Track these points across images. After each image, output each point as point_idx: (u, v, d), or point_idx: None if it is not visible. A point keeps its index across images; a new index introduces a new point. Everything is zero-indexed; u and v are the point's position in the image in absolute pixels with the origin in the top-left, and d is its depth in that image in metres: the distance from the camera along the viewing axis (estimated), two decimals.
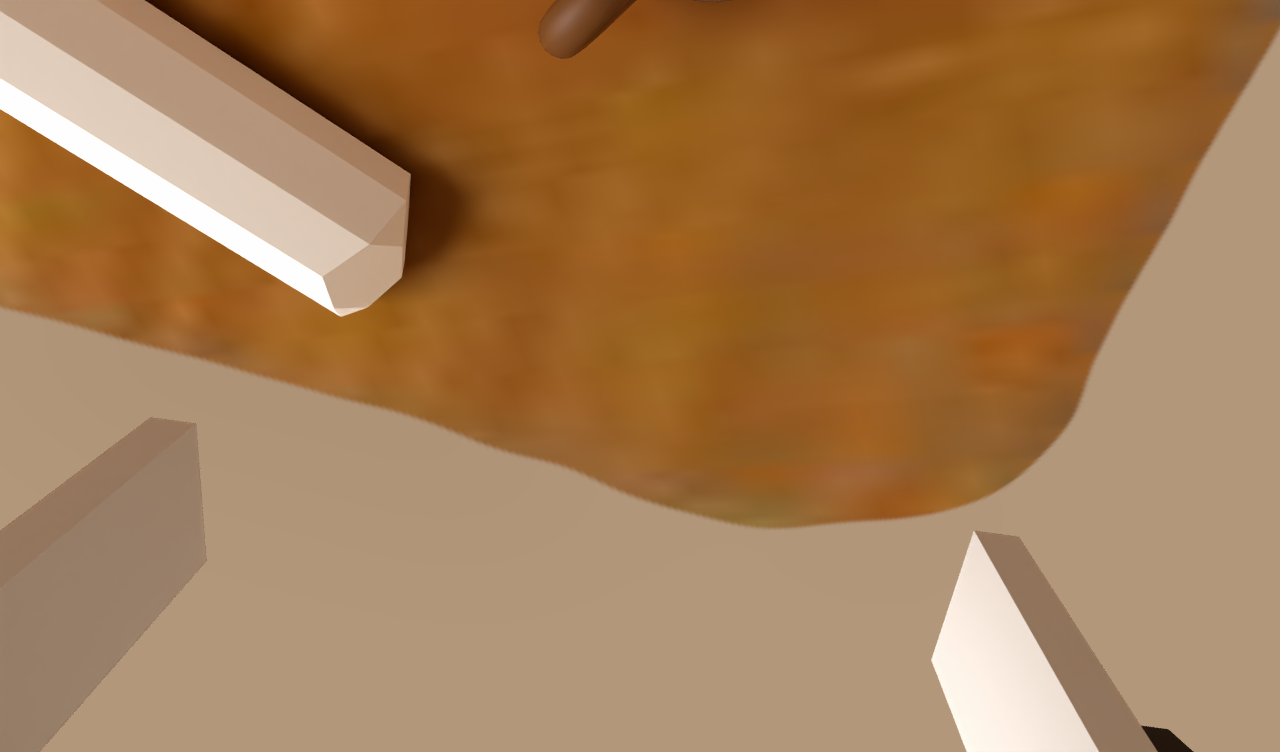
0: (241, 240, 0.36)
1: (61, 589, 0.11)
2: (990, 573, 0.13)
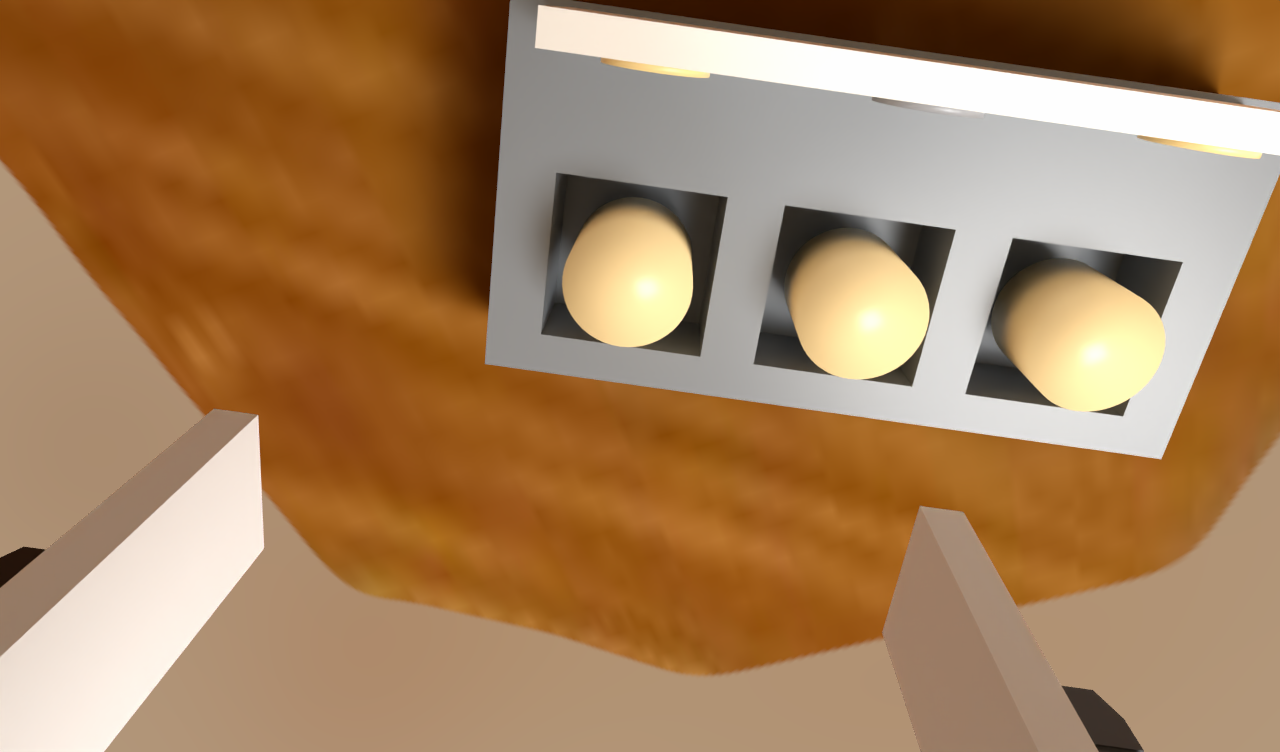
0: None
1: (145, 571, 0.12)
2: (931, 546, 0.14)
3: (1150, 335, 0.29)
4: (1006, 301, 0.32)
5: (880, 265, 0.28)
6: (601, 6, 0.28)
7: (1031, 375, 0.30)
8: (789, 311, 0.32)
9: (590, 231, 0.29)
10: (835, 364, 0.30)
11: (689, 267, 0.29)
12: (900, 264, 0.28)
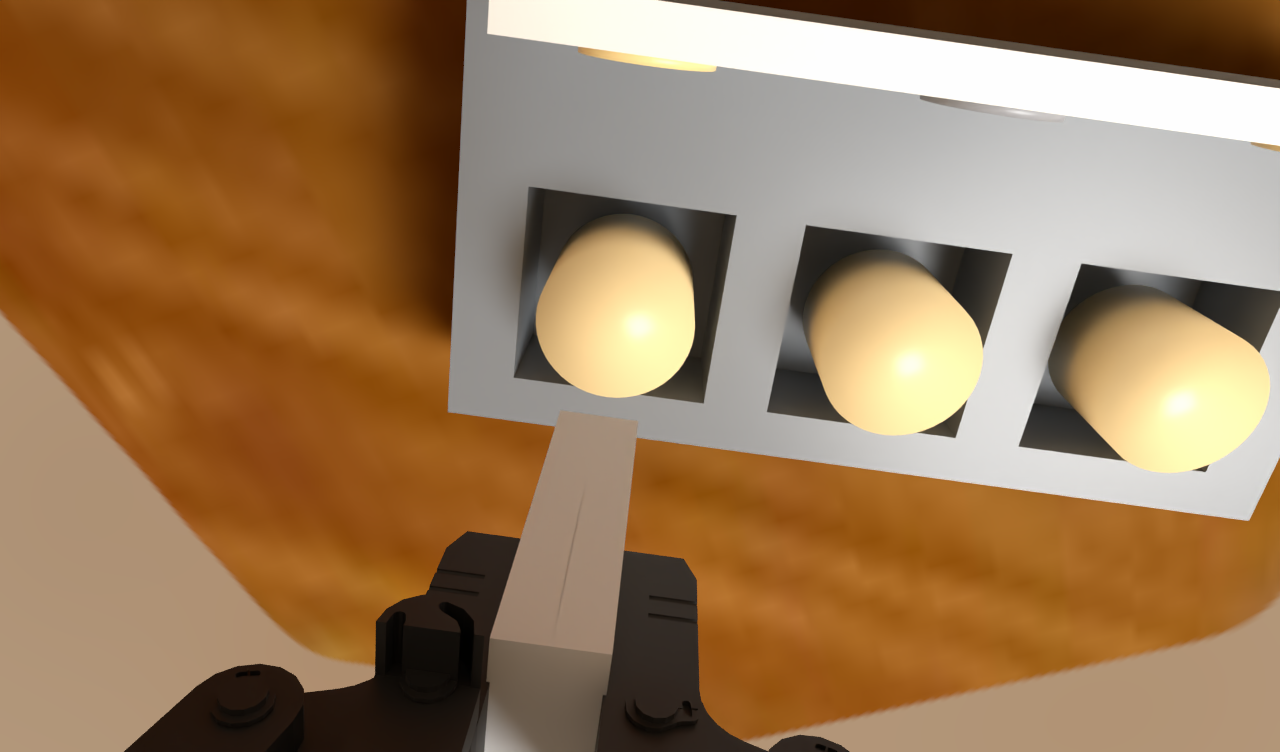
0: None
1: None
2: (593, 447, 0.16)
3: (1251, 384, 0.24)
4: (1068, 337, 0.27)
5: (924, 300, 0.23)
6: None
7: (1104, 430, 0.25)
8: None
9: (569, 260, 0.23)
10: (867, 418, 0.25)
11: (690, 303, 0.24)
12: (949, 299, 0.23)
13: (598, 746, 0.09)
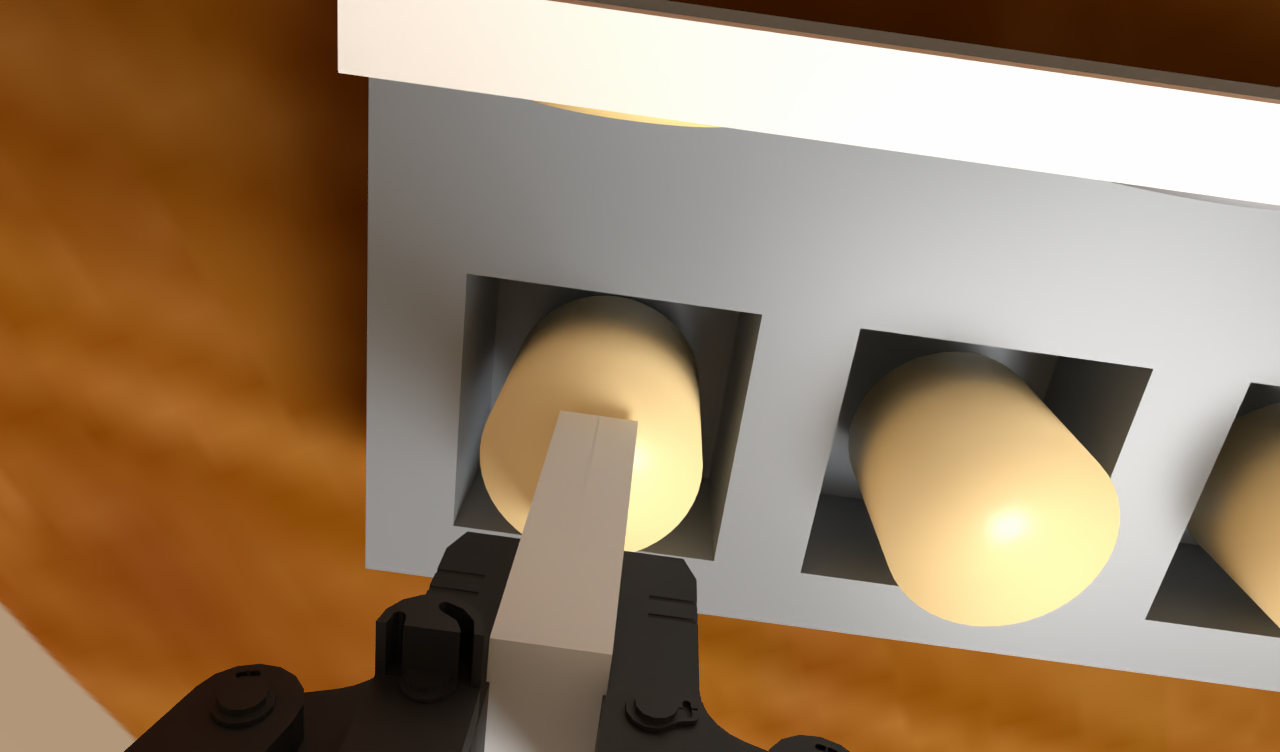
0: None
1: None
2: (593, 447, 0.16)
3: None
4: (1217, 472, 0.19)
5: (1039, 447, 0.16)
6: None
7: None
8: (859, 486, 0.20)
9: (525, 376, 0.16)
10: (948, 603, 0.17)
11: (696, 435, 0.17)
12: (1075, 446, 0.16)
13: (598, 746, 0.09)
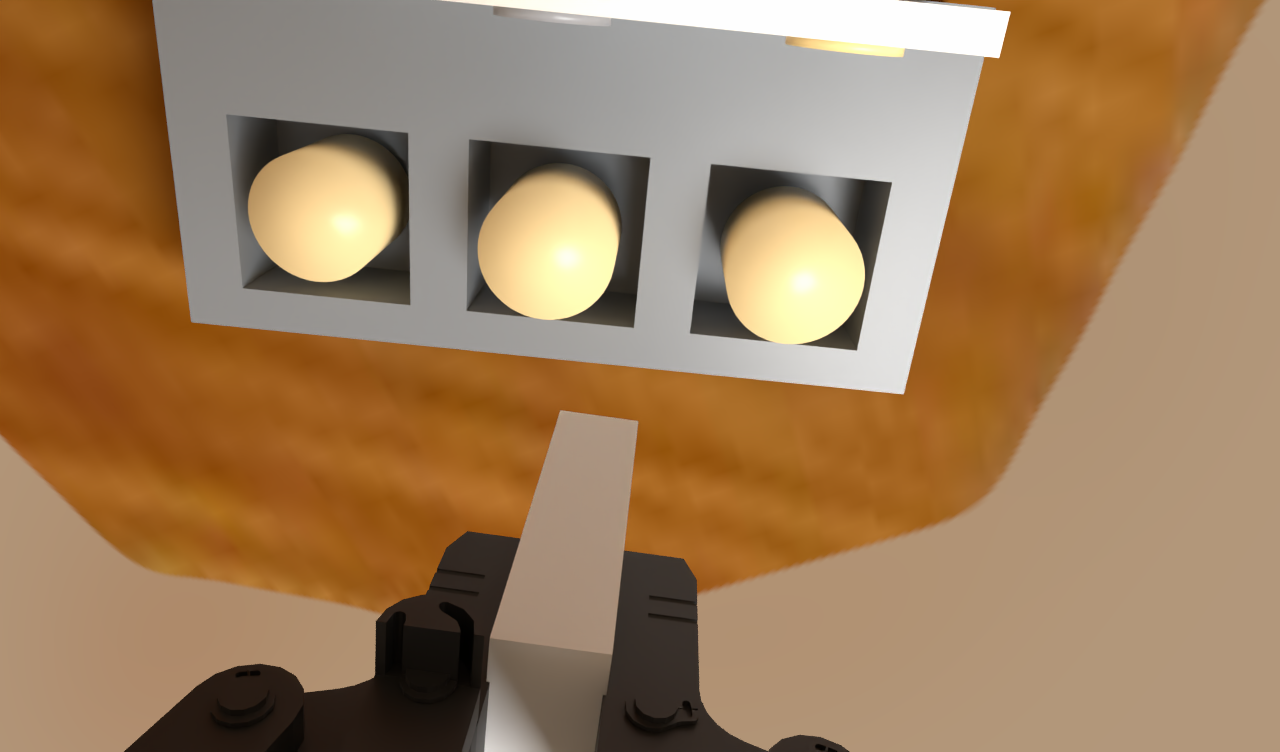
0: None
1: None
2: (592, 447, 0.16)
3: (847, 260, 0.27)
4: (725, 234, 0.30)
5: (554, 196, 0.27)
6: None
7: (732, 308, 0.28)
8: None
9: (267, 164, 0.28)
10: (527, 304, 0.28)
11: (371, 197, 0.29)
12: (574, 194, 0.27)
13: (598, 746, 0.09)
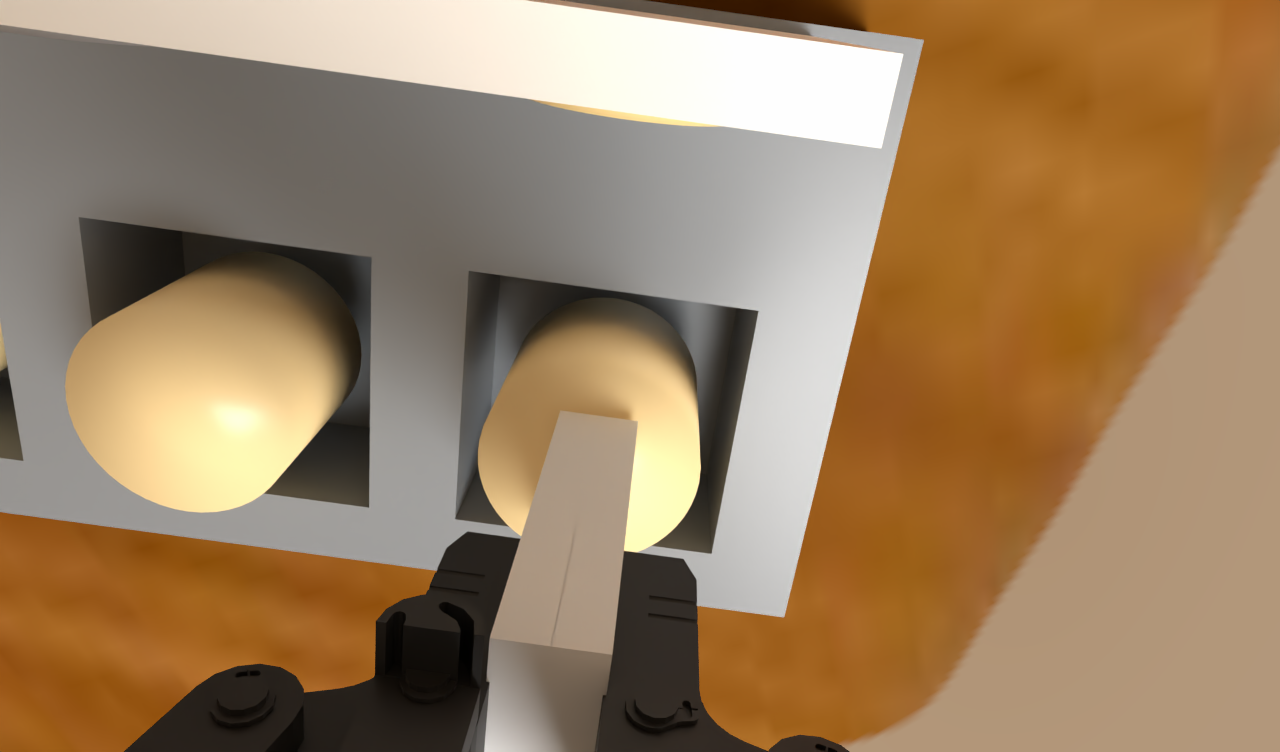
0: None
1: None
2: (593, 446, 0.16)
3: (671, 439, 0.17)
4: None
5: (179, 324, 0.16)
6: None
7: (492, 502, 0.18)
8: None
9: None
10: (159, 488, 0.18)
11: None
12: (212, 322, 0.16)
13: (598, 746, 0.09)
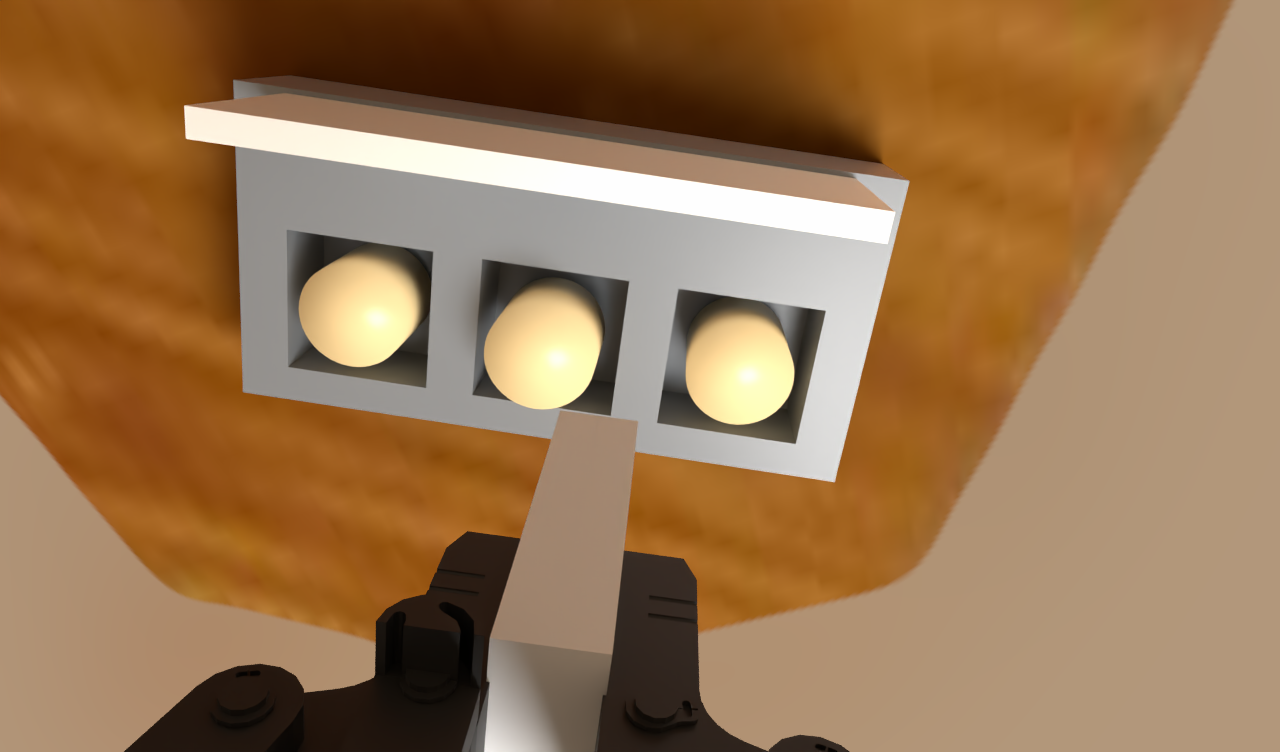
0: None
1: None
2: (592, 447, 0.16)
3: (780, 361, 0.35)
4: (689, 332, 0.38)
5: (548, 312, 0.33)
6: (309, 92, 0.33)
7: (690, 393, 0.36)
8: None
9: None
10: (522, 396, 0.35)
11: (400, 301, 0.35)
12: (564, 311, 0.33)
13: (598, 746, 0.09)
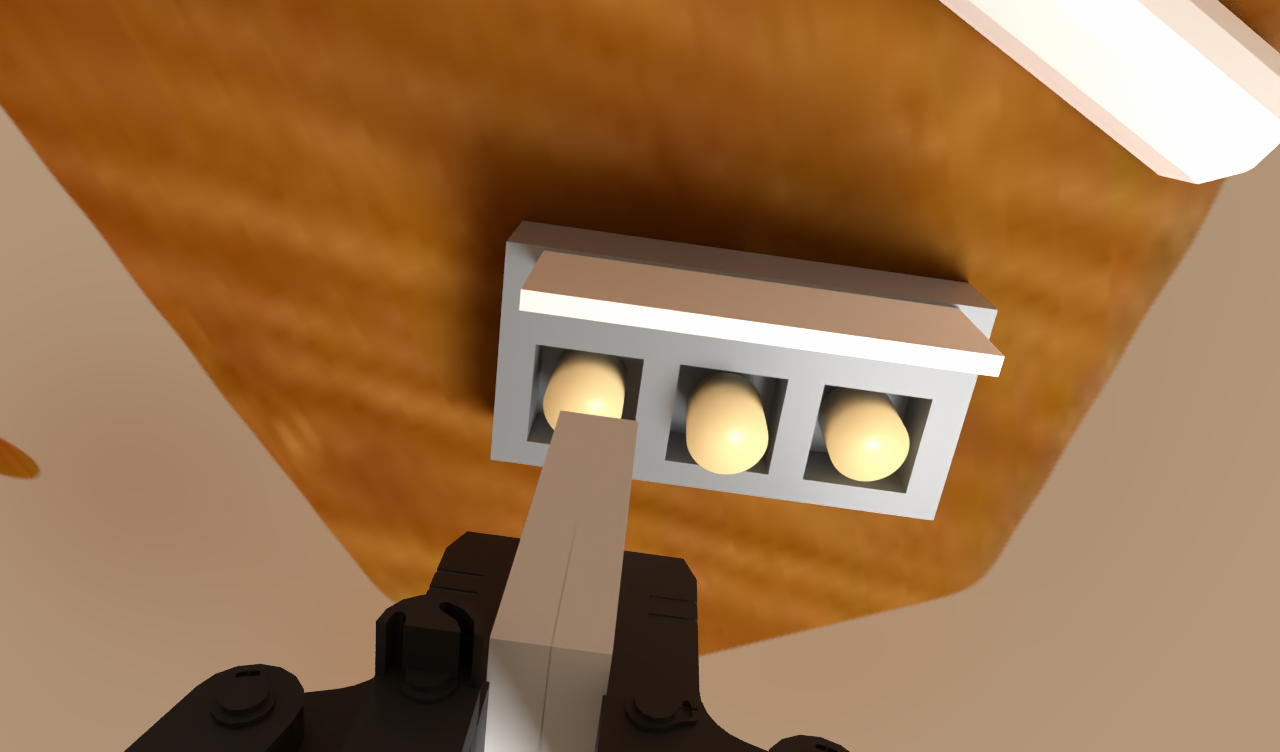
0: (1210, 100, 0.40)
1: None
2: (592, 447, 0.16)
3: (899, 437, 0.48)
4: (823, 409, 0.51)
5: (736, 406, 0.46)
6: (562, 249, 0.45)
7: (831, 459, 0.49)
8: None
9: (559, 375, 0.47)
10: (712, 465, 0.47)
11: (619, 396, 0.48)
12: (748, 406, 0.46)
13: (598, 746, 0.09)
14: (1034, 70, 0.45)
